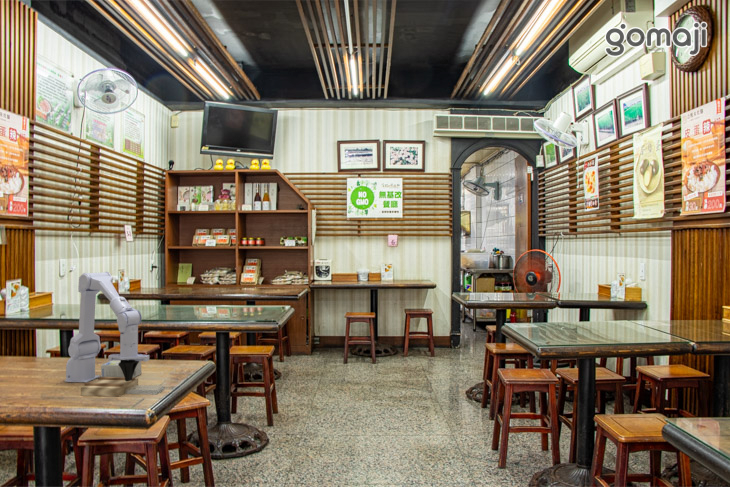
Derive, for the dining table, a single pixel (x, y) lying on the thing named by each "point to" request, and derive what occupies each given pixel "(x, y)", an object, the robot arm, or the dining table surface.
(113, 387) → the slide box
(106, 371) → the light bulb box
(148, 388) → the cover plate
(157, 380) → the dining table surface
